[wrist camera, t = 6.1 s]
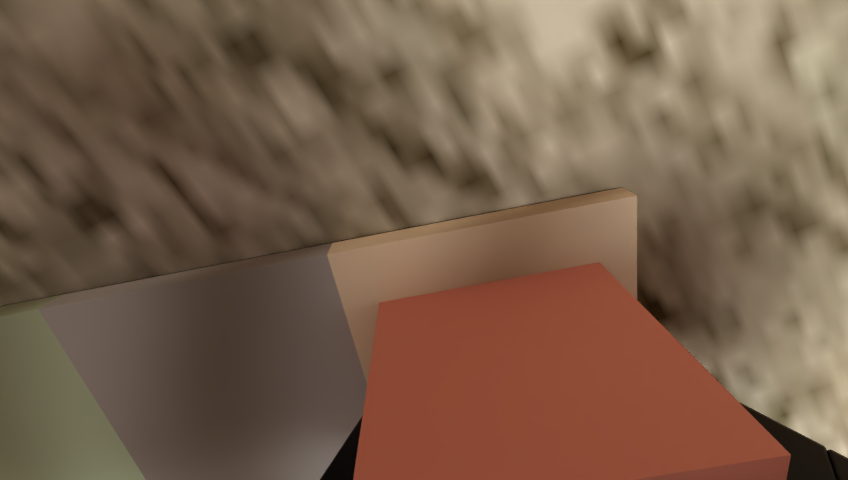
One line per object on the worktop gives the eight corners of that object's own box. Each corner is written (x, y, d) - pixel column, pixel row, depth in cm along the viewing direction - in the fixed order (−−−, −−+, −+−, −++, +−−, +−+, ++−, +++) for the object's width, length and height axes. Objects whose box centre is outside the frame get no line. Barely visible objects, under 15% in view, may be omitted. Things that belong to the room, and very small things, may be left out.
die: (599, 262, 8) (797, 460, 4) (605, 429, 10) (750, 694, 6) (379, 302, 8) (345, 530, 4) (421, 459, 10) (428, 736, 6)
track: (621, 187, 8) (637, 195, 8) (625, 441, 11) (636, 461, 10) (-192, 343, 9) (-232, 360, 9) (-10, 544, 12) (-31, 567, 11)
